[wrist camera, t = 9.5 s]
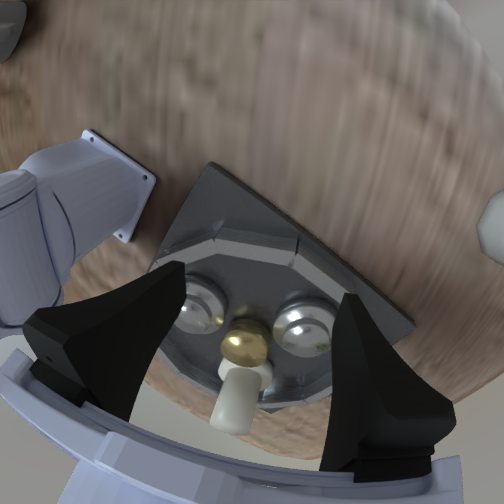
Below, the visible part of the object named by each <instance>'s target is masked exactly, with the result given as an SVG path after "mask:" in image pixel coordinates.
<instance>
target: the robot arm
mask: <svg viewBox="0 0 504 504" xmlns="http://www.w3.org/2000/svg"><path fill="white" fill-rule="evenodd" d="M93 138H94V141H93ZM145 175H146V176H147V179H146V178H145ZM155 183H156V178H155V176H154V175H153V174H151V173H150V172H149V171H147V170H146V169H144V168H143V167H142V166H140V165H139V164H137V163H136V162H135V161H133V160H132V159H130V158H129V157H127V156H126V155H125V154H123V153H122V152H120V151H119V150H118V149H116V148H115V147H113V146H112V145H111V144H109V143H108V142H106V141H105V140H103V139H102V138H101V137H99V136H98V135H96V134H95V133H94V132H92V131H91V130H89V129H87V130H84V132H83V134H82V137H81V138H80V139H76V140H73V141H69V142H66V143H62V144H59V145H56V146H53V147H50V148H47V149H44V150H41V151H38V152H36V153H34V154H33V155H31V156H30V157H29V158H28V159H27V160H26V161H25V162H24V163H23V164H22V165H21V166H20V168H19V169H18V170H12V171H8V172H5V173H2V174H0V339H2V338H4V337H7V336H11V335H23V334H24V336H25V338H26V340H27V342H28V343H29V345H30V347H31V348H32V350H33V352H34V353H35V355H36V356H37V358H38V359H37V360H36V361H35V362H33V360H32V359H31V358H29V357H28V356H27V355H26V354H24V353H23V352H22V351H20V350H19V349H15V350H14V352H13V353H12V354H11V355H10V356H9V357H8V359H7V360H6V361H5V362H4V363H3V365H2V366H1V367H0V396H1V397H2V398H3V399H4V400H5V401H6V402H7V403H8V404H9V405H10V406H11V407H12V408H13V409H14V410H15V411H16V412H17V413H18V414H19V415H20V416H21V417H22V418H23V419H24V420H26V421H27V422H28V423H29V424H30V425H31V426H32V427H34V428H35V429H36V430H37V431H38V432H40V433H41V434H42V435H43V436H44V437H46V438H47V439H48V440H50V441H51V442H52V443H53V444H55V445H56V446H57V447H59V448H60V449H62V450H63V451H64V452H66V453H67V454H69V455H70V456H72V457H73V458H74V459H76V460H78V461H79V462H78V465H77V466H76V468H75V470H74V472H73V474H72V475H71V477H70V479H69V481H68V483H67V485H66V487H65V489H64V491H63V493H62V494H61V496H60V499H59V500H58V502H57V504H463V483H462V471H461V461H460V456H459V455H456V456H451V457H447V458H441V459H437V460H434V461H432V462H431V455H433V454H434V452H435V450H434V445H435V444H436V443H438V442H439V441H440V440H441V439H443V438H444V437H445V436H447V435H448V434H449V433H450V432H451V431H452V430H453V428H454V427H455V425H456V417H455V412H454V408H453V404H452V401H450V400H449V399H447V398H446V397H444V396H443V395H442V394H440V393H439V392H437V391H436V390H435V389H433V388H432V387H431V386H430V385H429V384H427V383H426V382H425V381H424V380H423V379H422V378H420V377H419V376H418V375H417V374H416V373H415V372H414V371H413V370H412V369H411V368H410V367H409V366H408V365H407V364H406V363H405V362H404V361H403V359H402V358H401V357H400V356H399V355H398V354H397V352H396V351H395V350H394V349H393V348H392V346H391V345H390V344H389V342H388V341H387V339H386V338H385V337H384V335H383V334H382V332H381V331H380V330H379V328H378V327H377V325H376V323H375V322H374V320H373V319H372V317H371V315H370V314H369V312H368V310H367V309H366V307H365V305H364V304H363V302H362V300H361V299H360V297H359V296H358V294H352V293H346V292H345V293H344V295H343V298H342V301H341V304H340V307H339V310H338V313H337V315H336V318H335V321H334V324H333V327H332V339H331V360H332V401H331V409H330V417H329V424H328V430H327V436H326V441H325V446H324V451H323V455H322V460H321V464H320V468H319V471H309V470H298V469H289V468H282V467H274V466H269V465H263V464H257V463H252V462H247V461H242V460H238V459H233V458H229V457H225V456H221V455H217V454H213V453H210V452H206V451H203V450H200V449H196V448H193V447H190V446H187V445H184V444H181V443H177V442H175V441H172V440H169V439H167V438H164V437H161V436H159V435H156V434H153V433H151V432H149V431H146V430H144V429H142V428H139V427H137V426H134V425H132V424H130V423H129V419H130V415H131V412H132V409H133V406H134V403H135V400H136V397H137V394H138V392H139V389H140V386H141V384H142V381H143V379H144V377H145V374H146V372H147V370H148V367H149V365H150V363H151V361H152V359H153V357H154V355H155V353H156V351H157V349H158V348H159V346H160V344H161V343H162V341H163V340H164V338H165V337H166V335H167V333H168V332H169V330H170V329H171V327H172V325H173V324H174V322H175V321H176V319H177V317H178V316H179V314H180V312H181V310H182V308H183V305H184V303H185V301H186V298H187V291H186V277H185V262H180V261H175V260H172V261H169V262H167V263H165V264H164V265H162V266H160V267H158V268H156V269H154V270H153V271H151V272H149V273H147V274H145V275H143V276H141V277H140V278H138V279H136V280H134V281H132V282H130V283H128V284H126V285H124V286H122V287H119V288H117V289H115V290H112V291H110V292H107V293H105V294H102V295H99V296H96V297H93V298H90V299H86V300H83V301H80V302H75V303H71V304H66V305H62V304H63V300H64V291H63V288H62V286H63V285H64V284H65V283H66V282H68V281H69V280H70V279H71V274H70V268H71V267H72V266H73V265H75V264H76V263H77V262H78V261H79V260H81V259H82V258H83V257H84V256H86V255H87V254H88V253H89V252H90V251H92V250H93V249H94V248H96V247H97V246H98V245H99V244H101V243H102V242H103V241H105V240H106V239H107V238H108V237H110V236H111V235H112V234H113V235H115V236H116V237H117V238H118V239H120V240H121V241H122V242H124V243H128V242H129V241H130V239H131V237H132V234H133V232H134V229H135V227H136V225H137V222H138V220H139V218H140V216H141V213H142V211H143V209H144V207H145V204H146V202H147V200H148V198H149V196H150V194H151V192H152V190H153V188H154V185H155ZM121 234H122V236H121ZM263 485H265V486H263ZM267 486H271V487H267ZM272 487H277V488H272Z"/></svg>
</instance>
